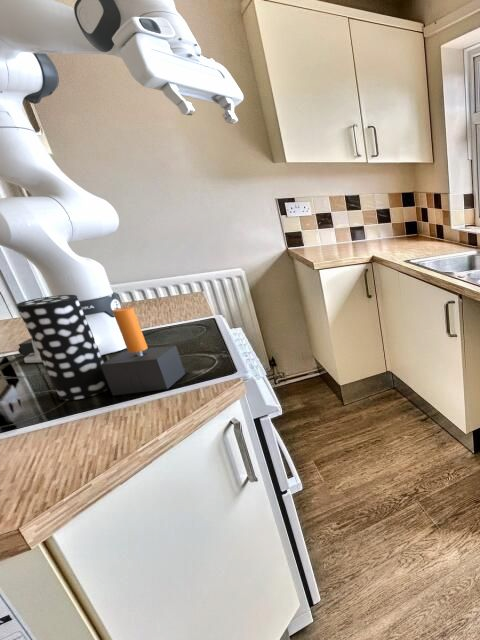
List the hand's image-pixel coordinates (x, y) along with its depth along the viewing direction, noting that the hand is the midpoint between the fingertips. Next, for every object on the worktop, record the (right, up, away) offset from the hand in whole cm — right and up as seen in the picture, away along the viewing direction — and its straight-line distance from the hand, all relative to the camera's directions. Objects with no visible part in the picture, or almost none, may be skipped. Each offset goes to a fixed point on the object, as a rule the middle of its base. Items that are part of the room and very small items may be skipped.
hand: (212, 118), depth 81 cm
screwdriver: (-21, -53, +11) cm, 58 cm away
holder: (-21, -53, +11) cm, 58 cm away
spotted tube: (-33, -54, +8) cm, 64 cm away
